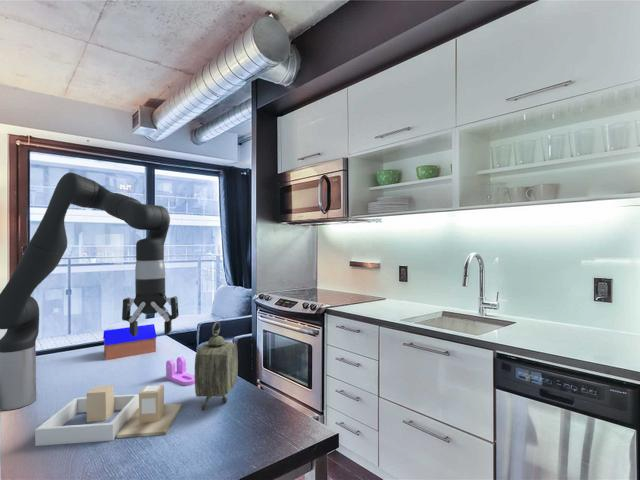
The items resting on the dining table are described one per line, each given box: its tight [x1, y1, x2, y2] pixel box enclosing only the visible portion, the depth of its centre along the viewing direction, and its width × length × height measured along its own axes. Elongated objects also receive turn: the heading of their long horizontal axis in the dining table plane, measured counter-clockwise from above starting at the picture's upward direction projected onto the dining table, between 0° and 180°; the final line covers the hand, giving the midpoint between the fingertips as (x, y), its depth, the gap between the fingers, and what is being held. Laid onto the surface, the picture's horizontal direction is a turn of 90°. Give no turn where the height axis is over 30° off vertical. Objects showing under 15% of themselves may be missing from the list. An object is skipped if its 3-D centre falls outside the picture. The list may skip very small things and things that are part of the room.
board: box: [116, 403, 183, 439], centre depth 101 cm, size 12×16×1 cm
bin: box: [34, 393, 139, 447], centre depth 99 cm, size 18×18×4 cm
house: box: [102, 323, 158, 361], centre depth 162 cm, size 12×20×12 cm, turn 124°
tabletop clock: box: [194, 320, 239, 411], centre depth 112 cm, size 14×9×25 cm, turn 178°
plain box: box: [86, 384, 115, 423], centre depth 104 cm, size 5×5×8 cm
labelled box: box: [138, 384, 165, 423], centre depth 101 cm, size 5×5×8 cm
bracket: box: [165, 355, 195, 387], centre depth 130 cm, size 13×6×7 cm, turn 53°
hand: (151, 334), depth 101 cm, fingers open, 8 cm apart
